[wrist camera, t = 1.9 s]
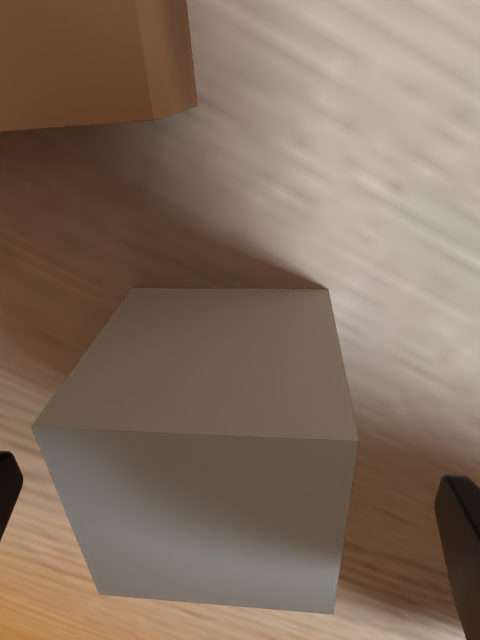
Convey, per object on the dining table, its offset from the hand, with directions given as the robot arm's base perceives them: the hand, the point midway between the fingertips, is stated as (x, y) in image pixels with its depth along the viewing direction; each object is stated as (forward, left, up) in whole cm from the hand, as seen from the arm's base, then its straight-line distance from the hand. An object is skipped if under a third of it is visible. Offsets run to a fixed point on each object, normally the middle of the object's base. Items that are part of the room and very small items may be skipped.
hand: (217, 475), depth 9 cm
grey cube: (0, 0, -4) cm, 4 cm away
